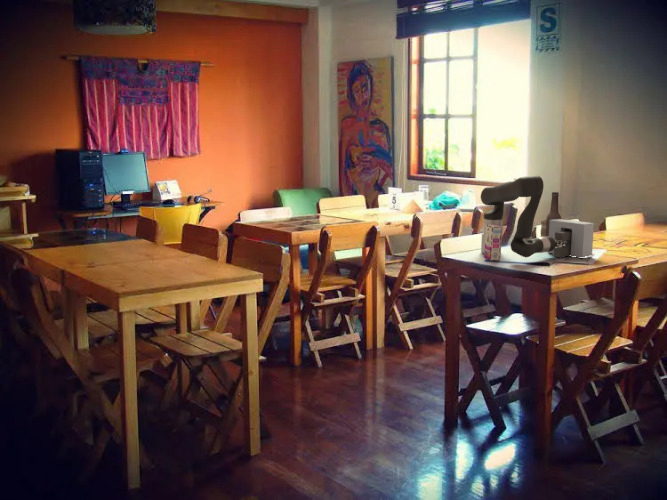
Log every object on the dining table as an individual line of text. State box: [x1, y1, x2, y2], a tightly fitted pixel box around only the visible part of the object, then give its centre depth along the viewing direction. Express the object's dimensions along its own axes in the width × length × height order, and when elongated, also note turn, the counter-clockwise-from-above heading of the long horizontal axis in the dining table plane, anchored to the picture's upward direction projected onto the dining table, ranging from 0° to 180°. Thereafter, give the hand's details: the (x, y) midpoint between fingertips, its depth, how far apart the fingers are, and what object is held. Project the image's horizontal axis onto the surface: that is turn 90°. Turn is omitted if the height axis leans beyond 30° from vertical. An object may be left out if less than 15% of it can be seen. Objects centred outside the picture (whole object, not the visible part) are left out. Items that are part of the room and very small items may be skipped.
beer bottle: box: [545, 191, 562, 237], centre depth 402 cm, size 8×8×30 cm
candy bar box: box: [483, 224, 503, 262], centre depth 374 cm, size 11×5×16 cm, turn 5°
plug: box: [553, 231, 572, 258], centre depth 383 cm, size 9×4×12 cm, turn 129°
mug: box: [540, 219, 546, 237], centre depth 427 cm, size 16×11×12 cm
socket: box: [547, 218, 595, 257], centre depth 386 cm, size 8×20×17 cm, turn 39°
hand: (564, 241), depth 383 cm, fingers closed on plug, 4 cm apart
